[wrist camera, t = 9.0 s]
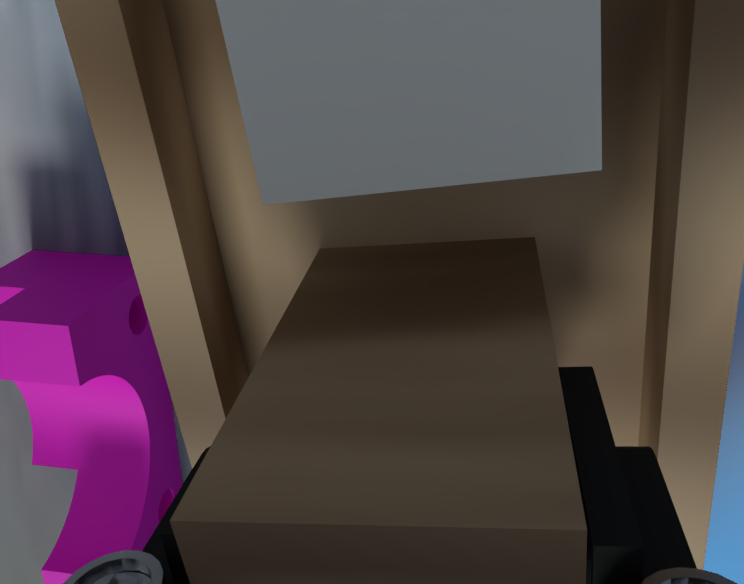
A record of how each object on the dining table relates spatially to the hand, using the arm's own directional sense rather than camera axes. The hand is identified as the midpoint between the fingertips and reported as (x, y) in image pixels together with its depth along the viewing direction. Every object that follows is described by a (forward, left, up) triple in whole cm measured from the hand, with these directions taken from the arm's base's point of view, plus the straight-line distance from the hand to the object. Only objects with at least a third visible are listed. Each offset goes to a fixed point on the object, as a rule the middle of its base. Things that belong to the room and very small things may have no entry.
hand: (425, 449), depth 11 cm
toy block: (+10, -19, -19) cm, 29 cm away
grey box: (-7, 0, -2) cm, 7 cm away
